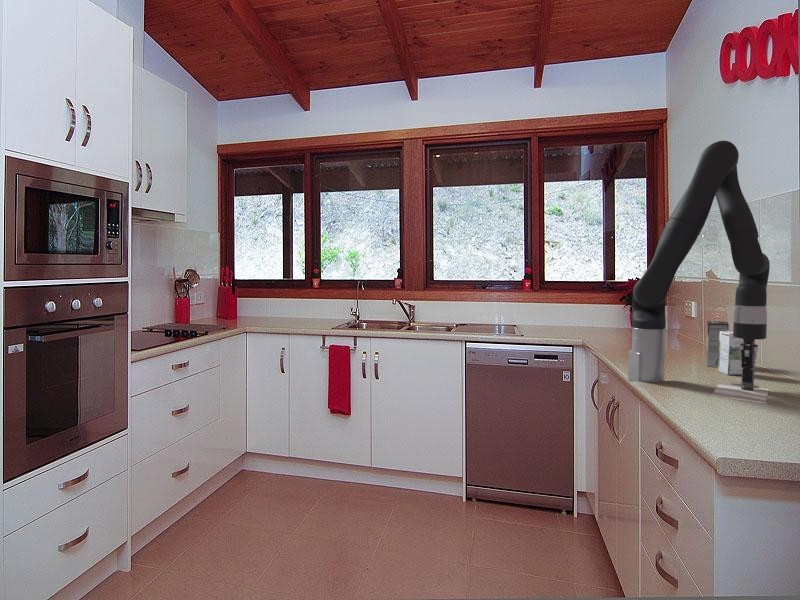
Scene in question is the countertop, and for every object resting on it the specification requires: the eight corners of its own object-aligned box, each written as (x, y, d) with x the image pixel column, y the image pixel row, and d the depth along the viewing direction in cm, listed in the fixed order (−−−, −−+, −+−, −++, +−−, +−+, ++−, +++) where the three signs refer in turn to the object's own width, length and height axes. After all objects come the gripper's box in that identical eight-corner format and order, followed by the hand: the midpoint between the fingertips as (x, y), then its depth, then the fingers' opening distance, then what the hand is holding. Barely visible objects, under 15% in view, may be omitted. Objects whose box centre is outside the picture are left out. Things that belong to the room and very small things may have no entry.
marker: (746, 391, 128) (748, 349, 127) (738, 388, 131) (739, 347, 130) (756, 390, 128) (758, 348, 128) (747, 388, 131) (749, 347, 131)
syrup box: (734, 371, 157) (736, 330, 156) (746, 375, 151) (747, 332, 150) (717, 371, 158) (719, 330, 157) (727, 375, 152) (729, 332, 151)
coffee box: (705, 362, 174) (707, 320, 173) (725, 363, 171) (727, 321, 170) (706, 366, 166) (708, 323, 165) (728, 368, 163) (729, 324, 162)
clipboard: (771, 409, 114) (771, 403, 114) (705, 399, 123) (705, 394, 123) (774, 391, 131) (774, 386, 131) (715, 384, 140) (715, 379, 140)
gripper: (765, 324, 121) (762, 388, 122) (768, 320, 131) (765, 379, 132) (730, 322, 126) (728, 383, 127) (736, 318, 136) (734, 375, 137)
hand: (747, 381), depth 130 cm, fingers closed on marker, 2 cm apart
